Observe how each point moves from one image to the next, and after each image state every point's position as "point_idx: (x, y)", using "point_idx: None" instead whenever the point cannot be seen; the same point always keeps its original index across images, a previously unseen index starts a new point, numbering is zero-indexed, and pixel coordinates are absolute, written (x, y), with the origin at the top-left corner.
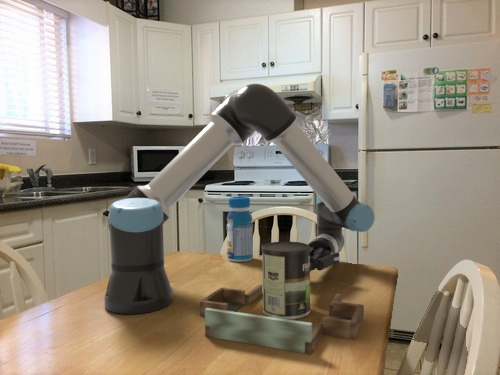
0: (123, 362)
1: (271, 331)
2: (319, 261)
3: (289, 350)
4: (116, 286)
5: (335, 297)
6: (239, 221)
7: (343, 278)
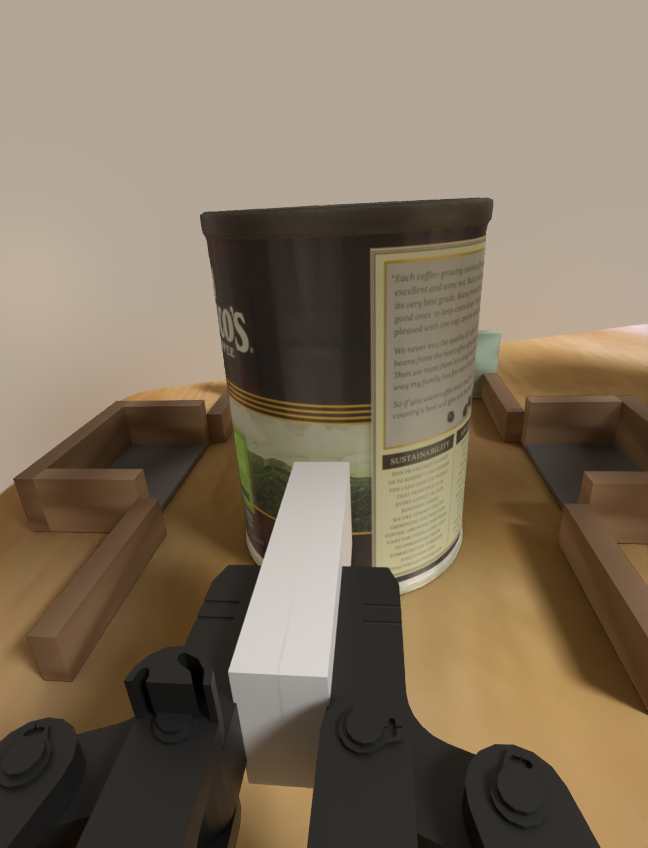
0: (539, 345)
1: None
2: (48, 725)
3: None
4: None
5: (93, 576)
6: None
7: None
